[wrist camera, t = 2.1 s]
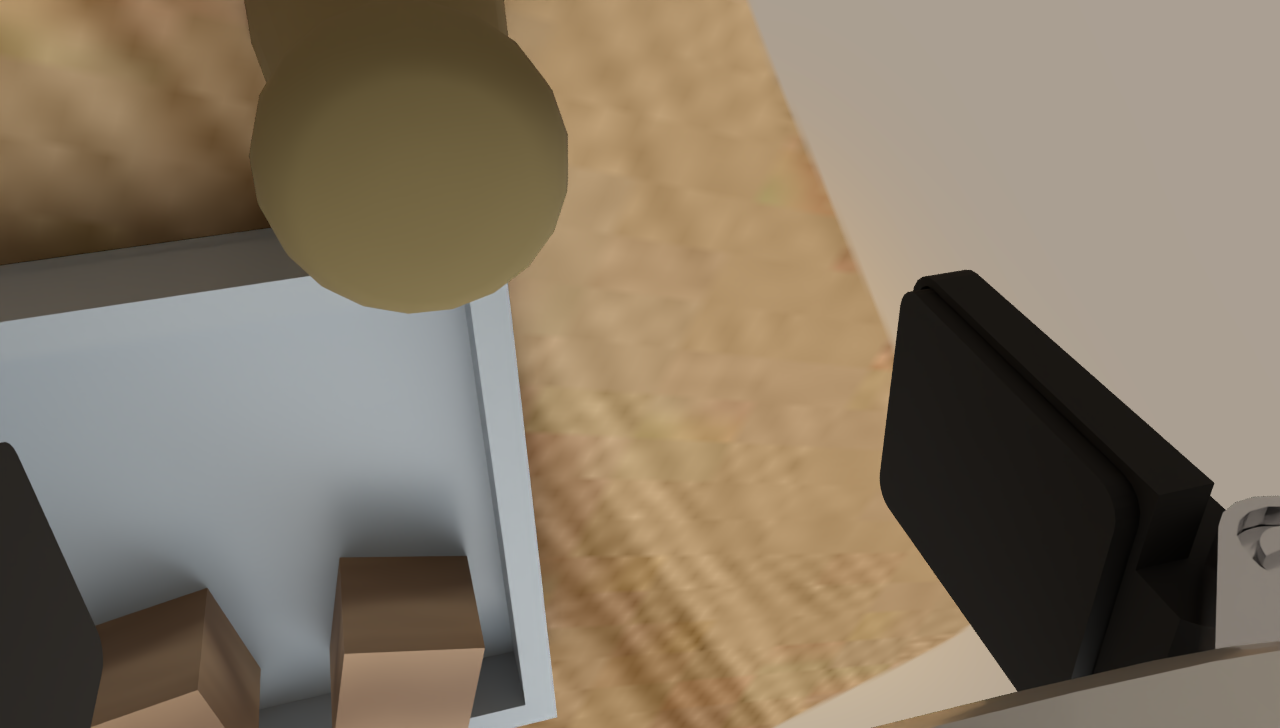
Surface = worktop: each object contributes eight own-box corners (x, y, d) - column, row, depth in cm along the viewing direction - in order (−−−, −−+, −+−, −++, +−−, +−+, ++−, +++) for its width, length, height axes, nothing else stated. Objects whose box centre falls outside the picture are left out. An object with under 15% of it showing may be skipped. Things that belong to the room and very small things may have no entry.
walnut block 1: (75, 632, 32) (51, 741, 28) (207, 587, 32) (197, 690, 29) (139, 711, 34) (122, 820, 31) (260, 668, 34) (257, 772, 31)
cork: (187, -36, 23) (120, 141, 15) (421, -173, 23) (498, -78, 14) (343, 180, 27) (366, 428, 18) (547, 63, 27) (672, 256, 18)
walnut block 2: (339, 557, 33) (344, 653, 30) (467, 555, 34) (485, 647, 31) (329, 649, 35) (332, 749, 31) (450, 644, 36) (465, 739, 33)
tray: (-182, 290, 25) (-233, 357, 23) (485, 198, 28) (503, 247, 26) (69, 759, 35) (52, 840, 33) (540, 651, 38) (556, 717, 36)
